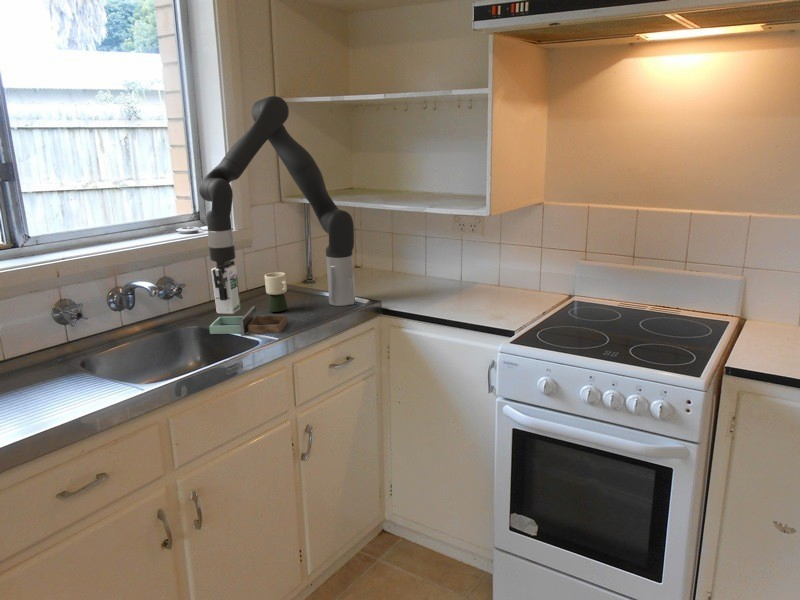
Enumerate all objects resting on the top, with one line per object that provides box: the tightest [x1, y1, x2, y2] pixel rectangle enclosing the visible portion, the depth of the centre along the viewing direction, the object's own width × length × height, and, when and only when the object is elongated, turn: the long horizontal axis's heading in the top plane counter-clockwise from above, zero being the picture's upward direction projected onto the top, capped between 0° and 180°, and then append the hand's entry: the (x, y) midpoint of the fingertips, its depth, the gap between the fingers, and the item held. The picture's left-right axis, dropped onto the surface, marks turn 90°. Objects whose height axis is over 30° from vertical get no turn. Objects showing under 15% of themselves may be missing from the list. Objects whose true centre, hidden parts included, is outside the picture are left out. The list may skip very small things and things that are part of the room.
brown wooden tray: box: [247, 315, 288, 334], centre depth 198 cm, size 10×10×2 cm
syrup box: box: [210, 264, 242, 315], centre depth 195 cm, size 6×6×14 cm
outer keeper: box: [208, 315, 244, 335], centre depth 198 cm, size 10×10×2 cm
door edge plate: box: [239, 305, 258, 337], centre depth 198 cm, size 1×15×5 cm, turn 177°
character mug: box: [264, 271, 288, 313], centre depth 214 cm, size 11×7×13 cm, turn 50°
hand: (227, 297), depth 196 cm, fingers closed on syrup box, 6 cm apart
